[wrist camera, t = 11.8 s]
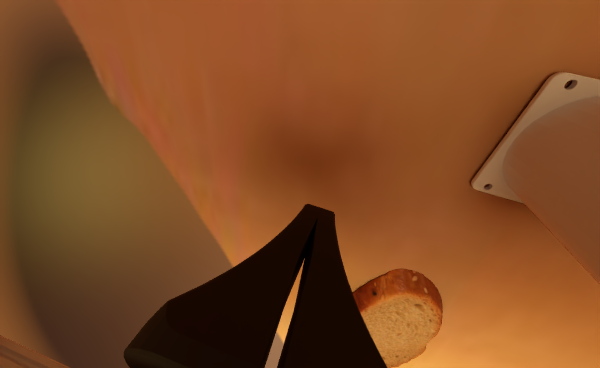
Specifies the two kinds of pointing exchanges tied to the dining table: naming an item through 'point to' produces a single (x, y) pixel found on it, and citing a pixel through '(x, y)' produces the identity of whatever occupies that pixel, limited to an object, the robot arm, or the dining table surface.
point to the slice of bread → (400, 314)
